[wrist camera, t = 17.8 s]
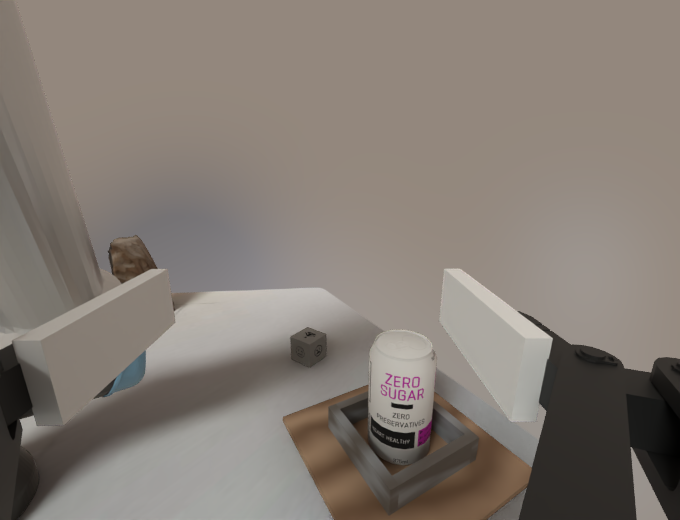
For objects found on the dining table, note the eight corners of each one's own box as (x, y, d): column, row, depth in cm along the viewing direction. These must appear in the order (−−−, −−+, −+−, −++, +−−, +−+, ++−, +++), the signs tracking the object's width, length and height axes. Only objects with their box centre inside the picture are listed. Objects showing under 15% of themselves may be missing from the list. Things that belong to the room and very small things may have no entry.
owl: (123, 327, 75) (107, 246, 70) (105, 313, 83) (90, 239, 78) (176, 310, 85) (166, 237, 80) (156, 299, 93) (146, 232, 87)
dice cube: (326, 356, 64) (326, 334, 63) (310, 368, 60) (309, 344, 59) (307, 348, 67) (307, 327, 66) (291, 359, 63) (290, 336, 62)
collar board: (283, 425, 47) (281, 397, 46) (406, 377, 59) (407, 353, 57) (377, 612, 27) (380, 571, 26) (536, 483, 39) (544, 450, 37)
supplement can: (408, 413, 48) (413, 323, 44) (442, 458, 40) (452, 354, 36) (358, 427, 45) (359, 332, 41) (384, 478, 37) (389, 368, 34)
